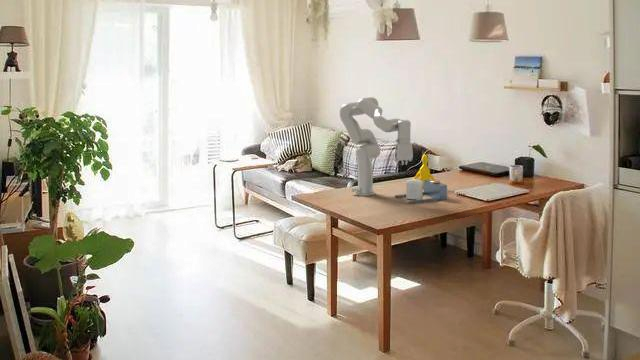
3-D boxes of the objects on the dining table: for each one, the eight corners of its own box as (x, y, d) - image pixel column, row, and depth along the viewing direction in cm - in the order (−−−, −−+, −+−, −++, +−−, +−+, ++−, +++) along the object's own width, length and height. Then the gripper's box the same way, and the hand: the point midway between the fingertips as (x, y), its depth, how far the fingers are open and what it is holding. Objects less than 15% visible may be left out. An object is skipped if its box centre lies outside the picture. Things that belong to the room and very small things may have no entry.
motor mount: (409, 204, 344) (409, 187, 342) (394, 197, 362) (394, 182, 360) (447, 199, 353) (447, 183, 351) (431, 193, 370) (431, 177, 368)
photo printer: (423, 199, 356) (423, 179, 354) (421, 200, 353) (421, 180, 350) (407, 197, 361) (407, 178, 359) (405, 199, 357) (405, 179, 355)
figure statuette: (435, 185, 393) (436, 153, 389) (438, 187, 386) (438, 154, 381) (409, 186, 393) (409, 154, 388) (412, 188, 385) (412, 156, 381)
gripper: (395, 142, 340) (395, 173, 344) (418, 141, 345) (417, 171, 349) (389, 140, 347) (389, 171, 351) (411, 139, 352) (411, 169, 356)
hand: (403, 171), depth 350 cm, fingers closed
